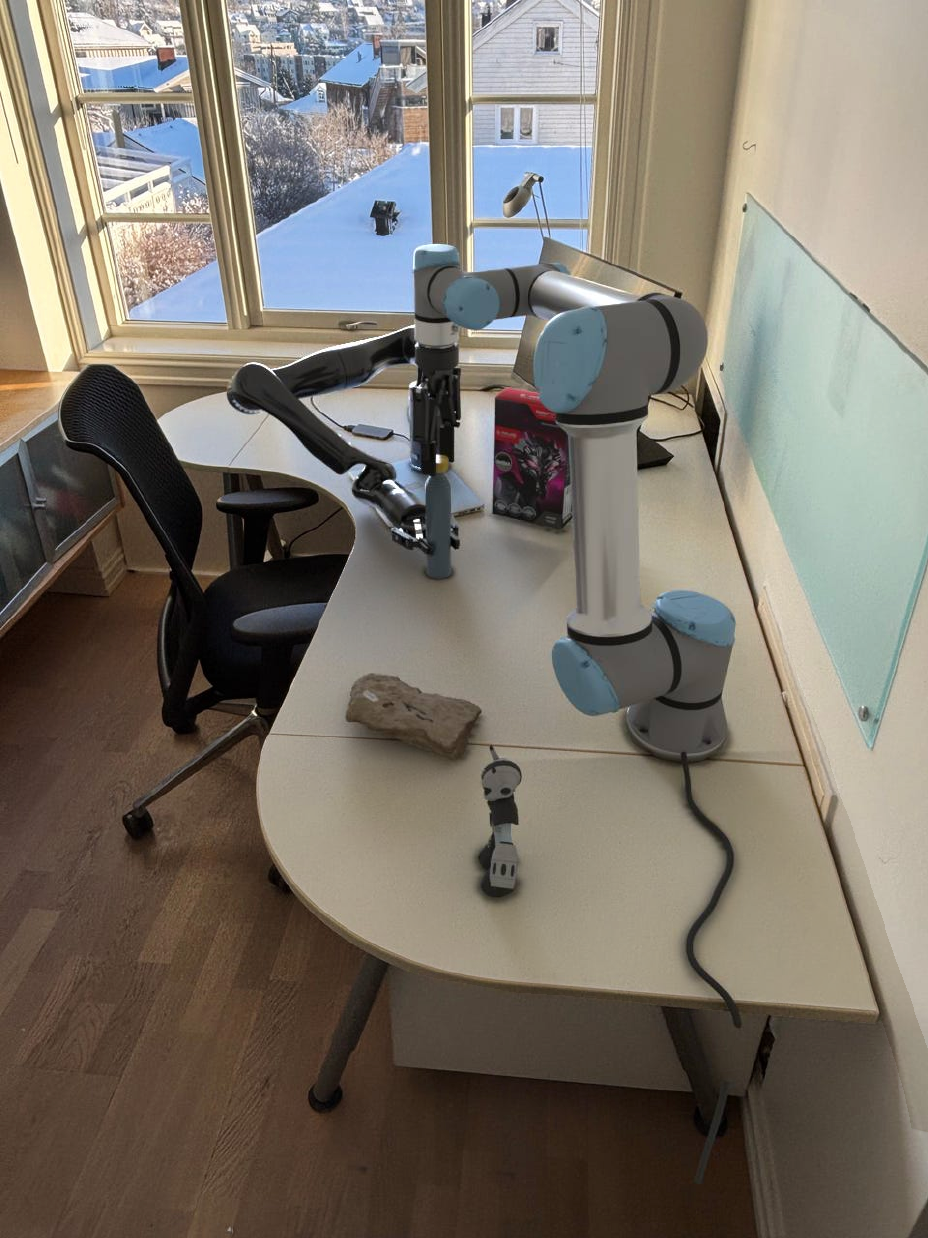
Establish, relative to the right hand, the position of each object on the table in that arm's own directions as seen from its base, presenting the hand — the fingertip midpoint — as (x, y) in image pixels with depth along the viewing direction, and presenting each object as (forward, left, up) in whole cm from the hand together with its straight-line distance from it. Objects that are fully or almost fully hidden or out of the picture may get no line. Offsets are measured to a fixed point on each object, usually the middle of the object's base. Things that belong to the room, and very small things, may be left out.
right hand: (437, 467), depth 170 cm
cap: (0, 0, +1) cm, 1 cm away
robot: (-70, -29, -23) cm, 79 cm away
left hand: (-2, -2, -16) cm, 16 cm away
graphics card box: (+28, -13, -23) cm, 38 cm away
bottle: (0, 0, -23) cm, 23 cm away
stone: (-46, -9, -23) cm, 52 cm away
